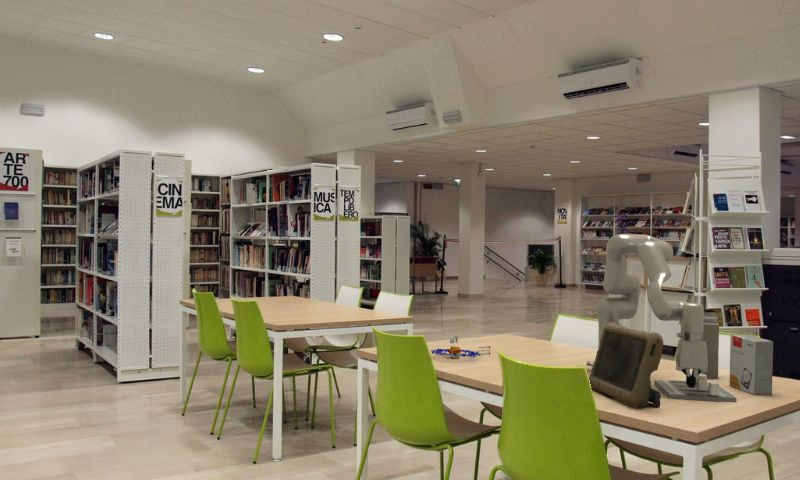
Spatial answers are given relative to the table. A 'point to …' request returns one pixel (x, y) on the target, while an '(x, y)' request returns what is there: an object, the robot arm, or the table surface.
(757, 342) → the hard drive box
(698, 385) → the block
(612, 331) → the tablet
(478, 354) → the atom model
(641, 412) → the table surface
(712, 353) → the thermos bottle
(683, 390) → the panel
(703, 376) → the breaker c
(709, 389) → the breaker
